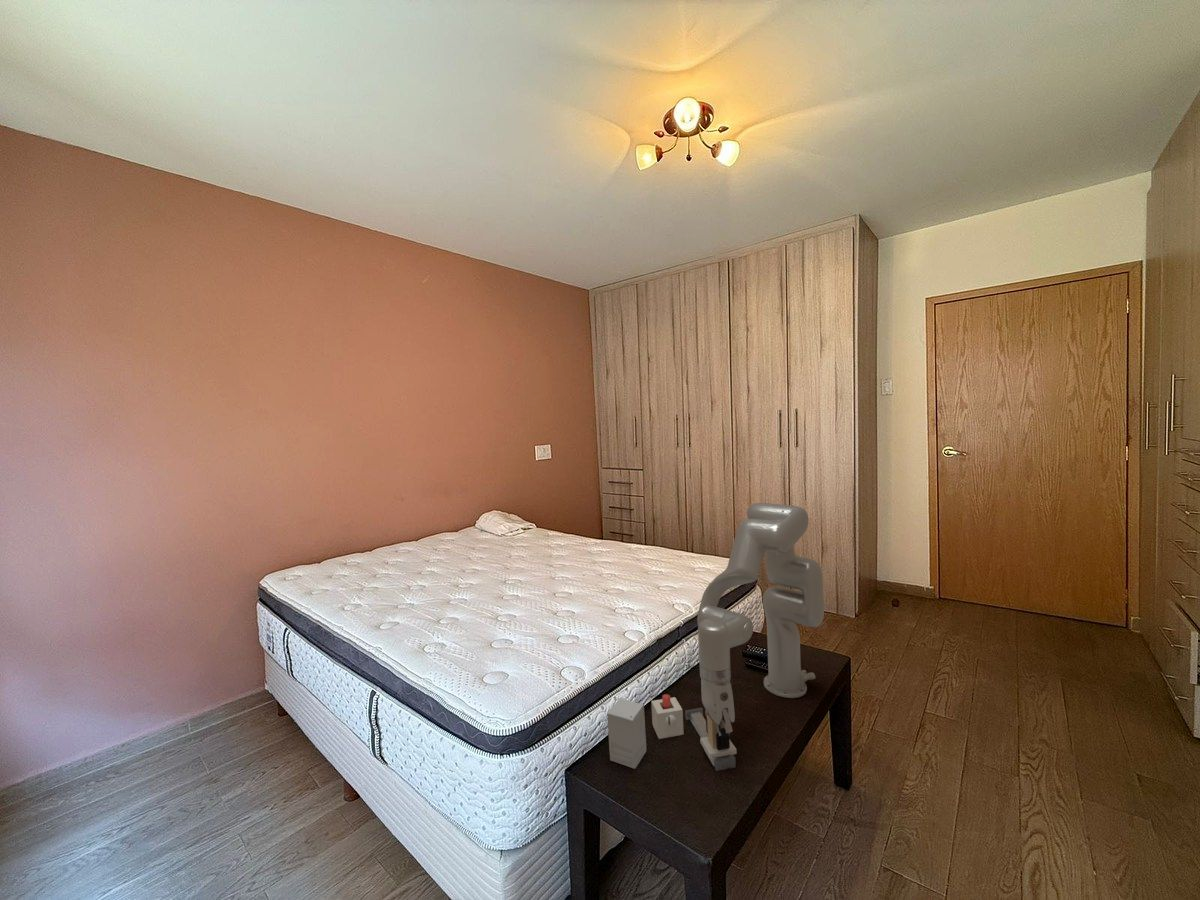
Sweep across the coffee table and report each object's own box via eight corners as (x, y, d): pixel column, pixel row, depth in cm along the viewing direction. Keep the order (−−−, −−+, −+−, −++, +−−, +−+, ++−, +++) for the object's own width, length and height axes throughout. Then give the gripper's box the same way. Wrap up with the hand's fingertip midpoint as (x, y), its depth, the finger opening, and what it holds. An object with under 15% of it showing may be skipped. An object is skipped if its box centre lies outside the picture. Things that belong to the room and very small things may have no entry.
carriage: (725, 745, 119) (724, 707, 119) (736, 761, 113) (735, 721, 113) (700, 750, 118) (699, 711, 118) (710, 767, 112) (708, 726, 112)
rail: (702, 715, 132) (701, 707, 132) (735, 767, 112) (735, 757, 112) (685, 718, 131) (685, 710, 131) (716, 770, 111) (716, 761, 111)
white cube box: (676, 720, 131) (675, 697, 130) (684, 736, 124) (683, 711, 124) (652, 724, 129) (651, 700, 129) (659, 740, 123) (658, 715, 122)
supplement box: (647, 751, 119) (645, 704, 118) (634, 770, 113) (632, 720, 112) (622, 742, 123) (619, 696, 122) (608, 760, 116) (606, 712, 116)
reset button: (669, 710, 128) (668, 693, 128) (672, 715, 126) (671, 698, 126) (662, 712, 128) (661, 694, 127) (664, 717, 125) (663, 699, 125)
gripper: (745, 687, 107) (748, 761, 108) (714, 652, 124) (717, 717, 125) (715, 692, 106) (718, 767, 106) (688, 656, 122) (691, 721, 123)
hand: (717, 739), depth 116 cm, fingers open, 5 cm apart
